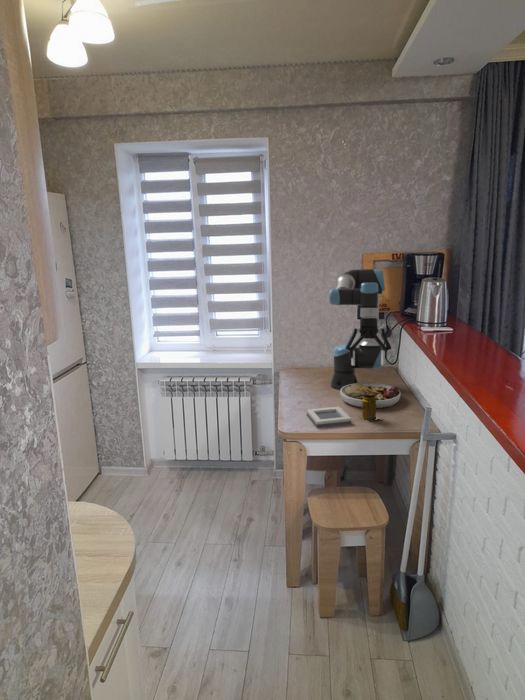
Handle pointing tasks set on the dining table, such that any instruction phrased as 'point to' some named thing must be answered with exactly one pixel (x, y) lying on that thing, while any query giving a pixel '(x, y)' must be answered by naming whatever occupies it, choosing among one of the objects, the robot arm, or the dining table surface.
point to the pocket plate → (328, 417)
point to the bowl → (382, 392)
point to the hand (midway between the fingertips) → (367, 365)
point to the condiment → (369, 407)
